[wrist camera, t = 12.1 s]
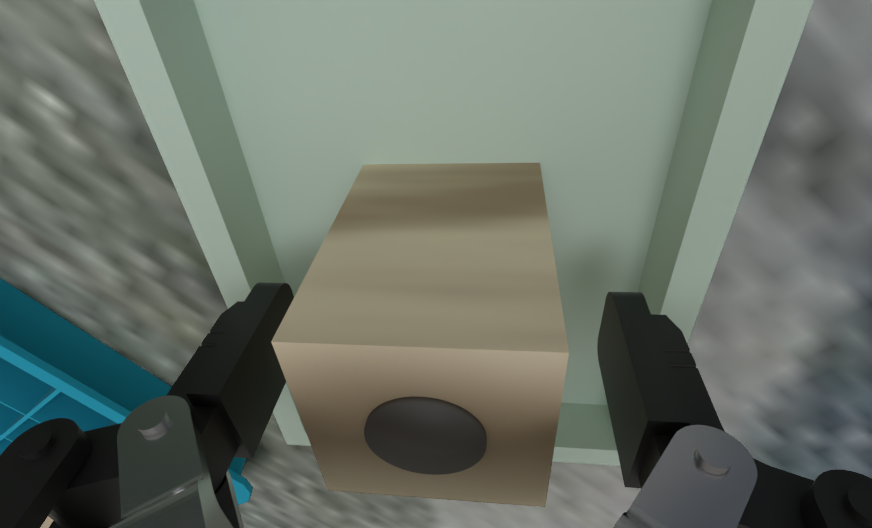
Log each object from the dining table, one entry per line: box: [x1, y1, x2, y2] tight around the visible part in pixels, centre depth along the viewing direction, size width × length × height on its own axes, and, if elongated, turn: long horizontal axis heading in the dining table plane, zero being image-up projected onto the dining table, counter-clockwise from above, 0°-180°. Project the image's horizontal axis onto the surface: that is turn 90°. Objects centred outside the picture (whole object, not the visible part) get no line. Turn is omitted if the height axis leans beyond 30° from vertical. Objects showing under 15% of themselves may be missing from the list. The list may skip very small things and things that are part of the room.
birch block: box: [271, 163, 569, 507], centre depth 12 cm, size 5×5×7 cm
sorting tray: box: [94, 0, 814, 466], centre depth 15 cm, size 18×14×3 cm
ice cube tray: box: [0, 279, 253, 505], centre depth 23 cm, size 12×20×3 cm, turn 39°
